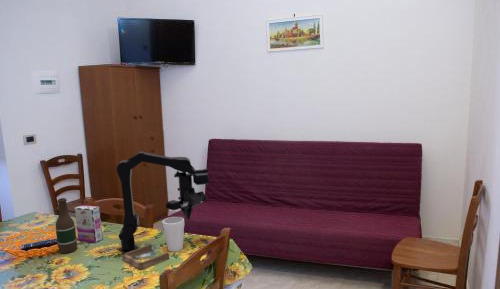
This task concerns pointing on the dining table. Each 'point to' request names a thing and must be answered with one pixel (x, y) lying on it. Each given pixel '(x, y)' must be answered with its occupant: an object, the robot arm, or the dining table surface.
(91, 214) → the candy bar box
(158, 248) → the dining table surface
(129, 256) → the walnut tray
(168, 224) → the foam cup
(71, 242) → the beer bottle
